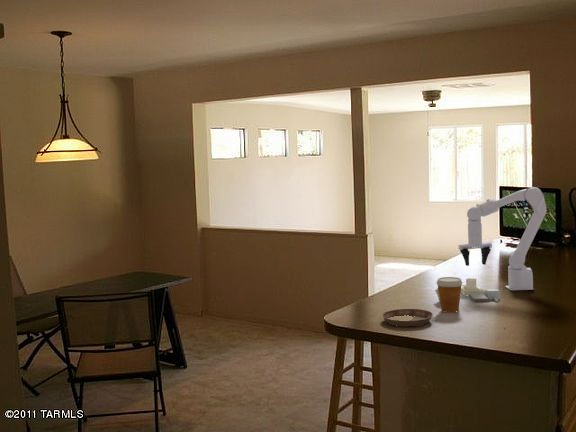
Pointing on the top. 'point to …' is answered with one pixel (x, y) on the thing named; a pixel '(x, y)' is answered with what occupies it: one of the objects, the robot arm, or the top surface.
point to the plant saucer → (418, 320)
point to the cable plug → (492, 294)
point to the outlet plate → (466, 292)
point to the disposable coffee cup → (449, 293)
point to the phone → (478, 298)
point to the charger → (471, 284)
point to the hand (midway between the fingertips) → (475, 264)
